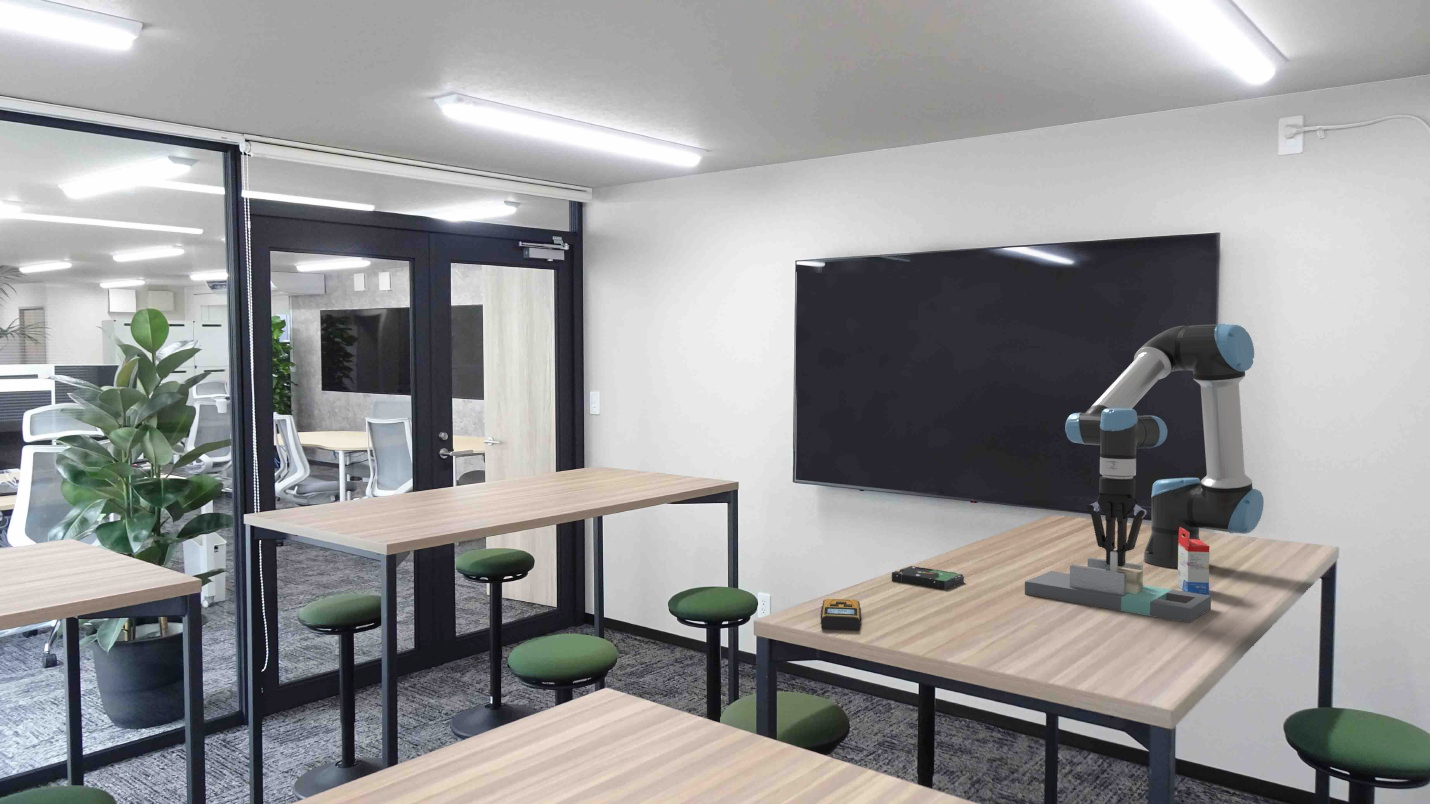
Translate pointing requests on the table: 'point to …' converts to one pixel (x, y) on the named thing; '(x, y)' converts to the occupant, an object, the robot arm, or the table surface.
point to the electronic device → (840, 614)
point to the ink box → (1193, 564)
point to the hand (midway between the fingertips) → (1115, 579)
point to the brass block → (1133, 580)
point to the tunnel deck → (1117, 592)
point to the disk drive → (928, 577)
